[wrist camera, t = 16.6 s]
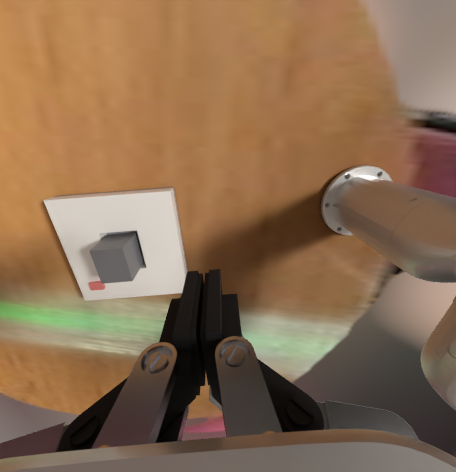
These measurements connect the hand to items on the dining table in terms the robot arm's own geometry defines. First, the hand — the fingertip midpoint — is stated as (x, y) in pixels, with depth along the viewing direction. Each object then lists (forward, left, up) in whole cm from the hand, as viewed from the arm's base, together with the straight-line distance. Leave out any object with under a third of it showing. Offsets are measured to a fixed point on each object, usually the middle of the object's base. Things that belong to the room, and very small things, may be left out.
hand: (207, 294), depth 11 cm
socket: (+17, +10, -29) cm, 35 cm away
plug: (+17, +10, -28) cm, 34 cm away
